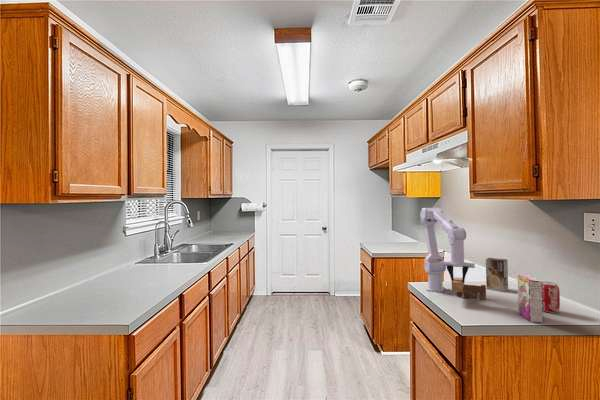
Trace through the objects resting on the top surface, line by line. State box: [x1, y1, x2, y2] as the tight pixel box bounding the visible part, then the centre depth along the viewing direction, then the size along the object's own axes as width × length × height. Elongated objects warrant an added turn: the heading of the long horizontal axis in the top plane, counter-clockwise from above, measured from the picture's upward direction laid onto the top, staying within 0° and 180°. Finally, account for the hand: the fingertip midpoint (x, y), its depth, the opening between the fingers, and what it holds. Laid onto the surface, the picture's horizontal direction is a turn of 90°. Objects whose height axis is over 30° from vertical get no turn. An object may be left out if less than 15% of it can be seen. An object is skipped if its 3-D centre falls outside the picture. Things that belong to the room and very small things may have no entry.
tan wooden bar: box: [451, 277, 465, 292], centre depth 165 cm, size 14×4×4 cm, turn 150°
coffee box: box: [485, 257, 509, 293], centre depth 184 cm, size 9×6×16 cm
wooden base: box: [455, 283, 487, 301], centre depth 169 cm, size 5×13×6 cm, turn 61°
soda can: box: [542, 281, 561, 314], centre depth 148 cm, size 7×7×12 cm
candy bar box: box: [517, 274, 544, 324], centre depth 140 cm, size 11×5×16 cm, turn 168°
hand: (458, 282), depth 165 cm, fingers closed on tan wooden bar, 4 cm apart
